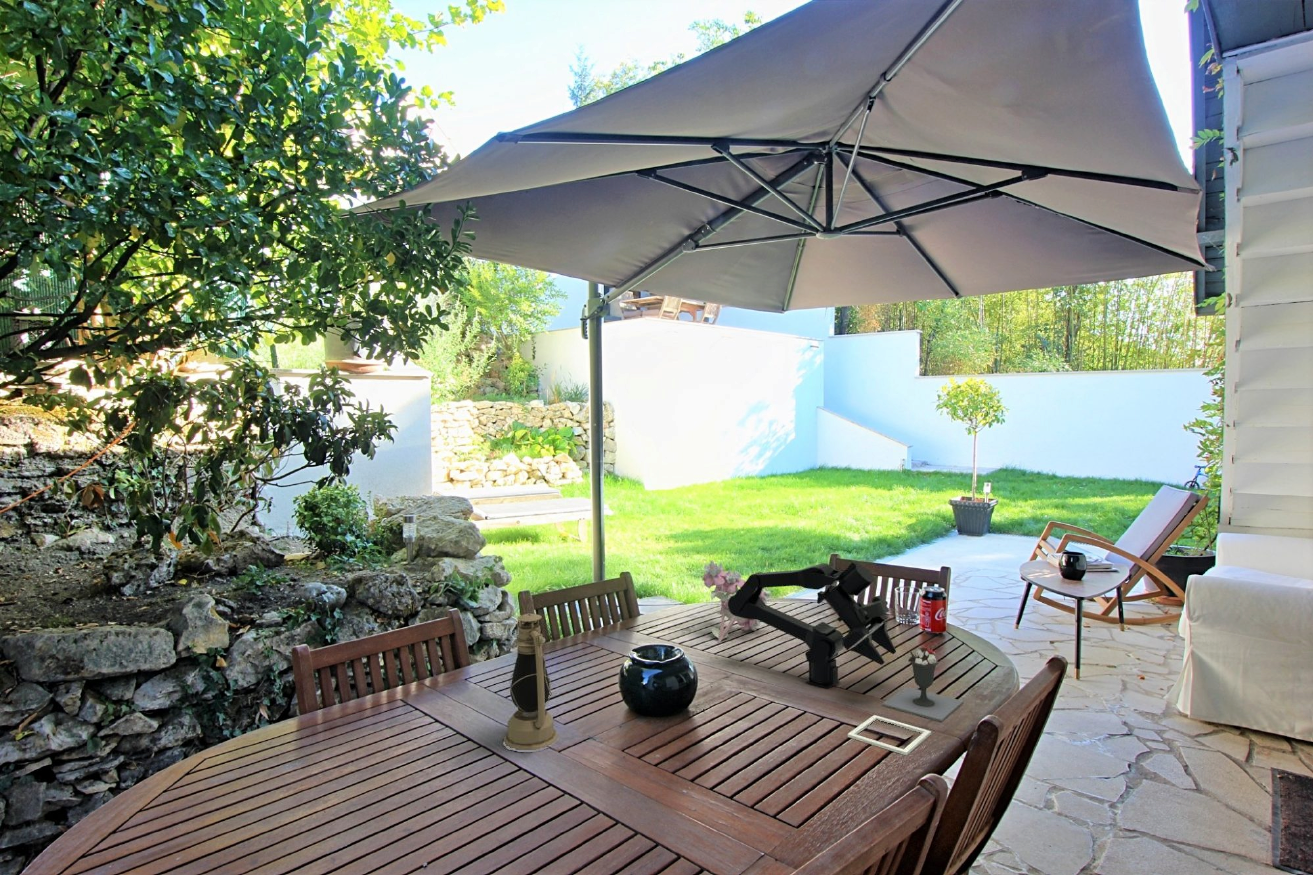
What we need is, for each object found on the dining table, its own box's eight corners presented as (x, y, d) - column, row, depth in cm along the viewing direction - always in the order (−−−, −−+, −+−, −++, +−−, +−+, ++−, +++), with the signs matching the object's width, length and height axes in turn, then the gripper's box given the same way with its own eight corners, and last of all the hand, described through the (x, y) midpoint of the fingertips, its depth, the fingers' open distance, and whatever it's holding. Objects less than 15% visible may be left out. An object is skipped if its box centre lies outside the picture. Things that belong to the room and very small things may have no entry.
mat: (882, 705, 173) (882, 703, 173) (906, 688, 184) (906, 686, 184) (941, 722, 164) (941, 719, 164) (963, 703, 174) (963, 701, 174)
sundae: (944, 704, 173) (944, 641, 172) (925, 710, 169) (925, 646, 169) (922, 694, 178) (921, 634, 178) (903, 700, 175) (902, 638, 174)
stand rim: (847, 736, 157) (847, 734, 157) (874, 717, 167) (874, 714, 167) (906, 755, 148) (906, 752, 148) (931, 733, 158) (931, 731, 158)
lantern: (570, 746, 153) (568, 605, 152) (515, 760, 147) (513, 613, 146) (544, 721, 166) (542, 590, 165) (493, 733, 160) (491, 597, 159)
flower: (776, 644, 214) (778, 561, 224) (699, 637, 214) (705, 554, 224) (765, 653, 232) (767, 576, 242) (694, 646, 233) (699, 569, 243)
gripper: (854, 595, 173) (901, 650, 167) (880, 579, 188) (923, 629, 182) (823, 622, 177) (867, 676, 172) (850, 605, 193) (891, 654, 187)
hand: (889, 658), depth 178 cm, fingers open, 9 cm apart
